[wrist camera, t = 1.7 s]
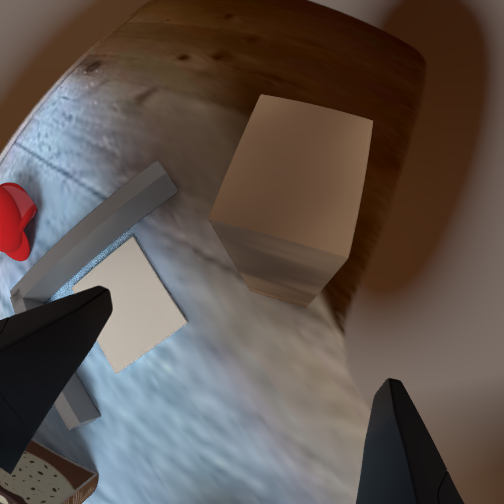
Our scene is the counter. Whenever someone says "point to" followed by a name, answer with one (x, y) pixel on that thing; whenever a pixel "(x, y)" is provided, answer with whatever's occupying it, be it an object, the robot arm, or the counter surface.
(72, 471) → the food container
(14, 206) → the cap
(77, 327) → the robot arm
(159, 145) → the counter surface
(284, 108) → the walnut block
